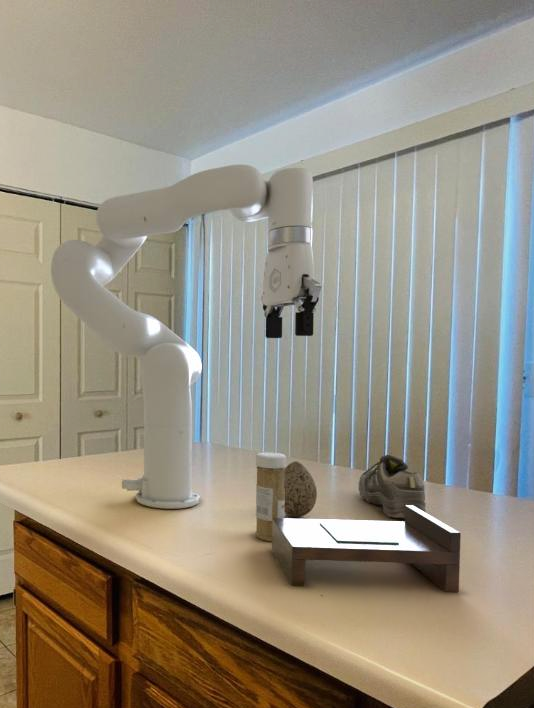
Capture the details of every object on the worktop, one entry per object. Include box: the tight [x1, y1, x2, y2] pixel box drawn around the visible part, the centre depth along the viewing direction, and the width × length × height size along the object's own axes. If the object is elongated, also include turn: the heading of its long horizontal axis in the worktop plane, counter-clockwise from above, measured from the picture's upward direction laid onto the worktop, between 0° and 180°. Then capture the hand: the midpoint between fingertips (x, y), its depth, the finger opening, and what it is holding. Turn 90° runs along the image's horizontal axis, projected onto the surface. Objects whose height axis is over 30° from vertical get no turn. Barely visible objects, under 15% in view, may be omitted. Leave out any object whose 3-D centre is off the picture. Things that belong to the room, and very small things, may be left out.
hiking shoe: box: [358, 454, 427, 519], centre depth 101 cm, size 9×21×12 cm
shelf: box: [270, 505, 462, 593], centre depth 71 cm, size 20×12×7 cm, turn 85°
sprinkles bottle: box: [255, 451, 287, 542], centre depth 83 cm, size 5×5×13 cm
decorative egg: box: [284, 461, 318, 518], centre depth 95 cm, size 7×7×10 cm
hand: (288, 336), depth 95 cm, fingers open, 9 cm apart
